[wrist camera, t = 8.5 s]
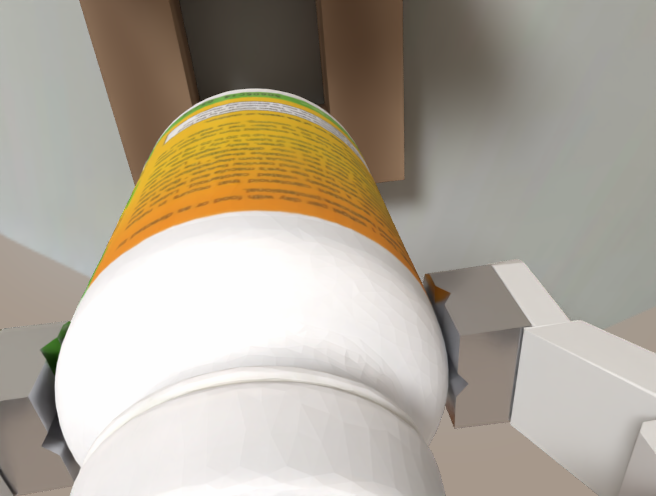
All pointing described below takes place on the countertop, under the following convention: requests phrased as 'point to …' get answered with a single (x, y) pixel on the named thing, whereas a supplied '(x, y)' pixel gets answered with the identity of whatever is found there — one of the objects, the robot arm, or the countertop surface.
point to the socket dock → (182, 93)
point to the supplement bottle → (254, 321)
